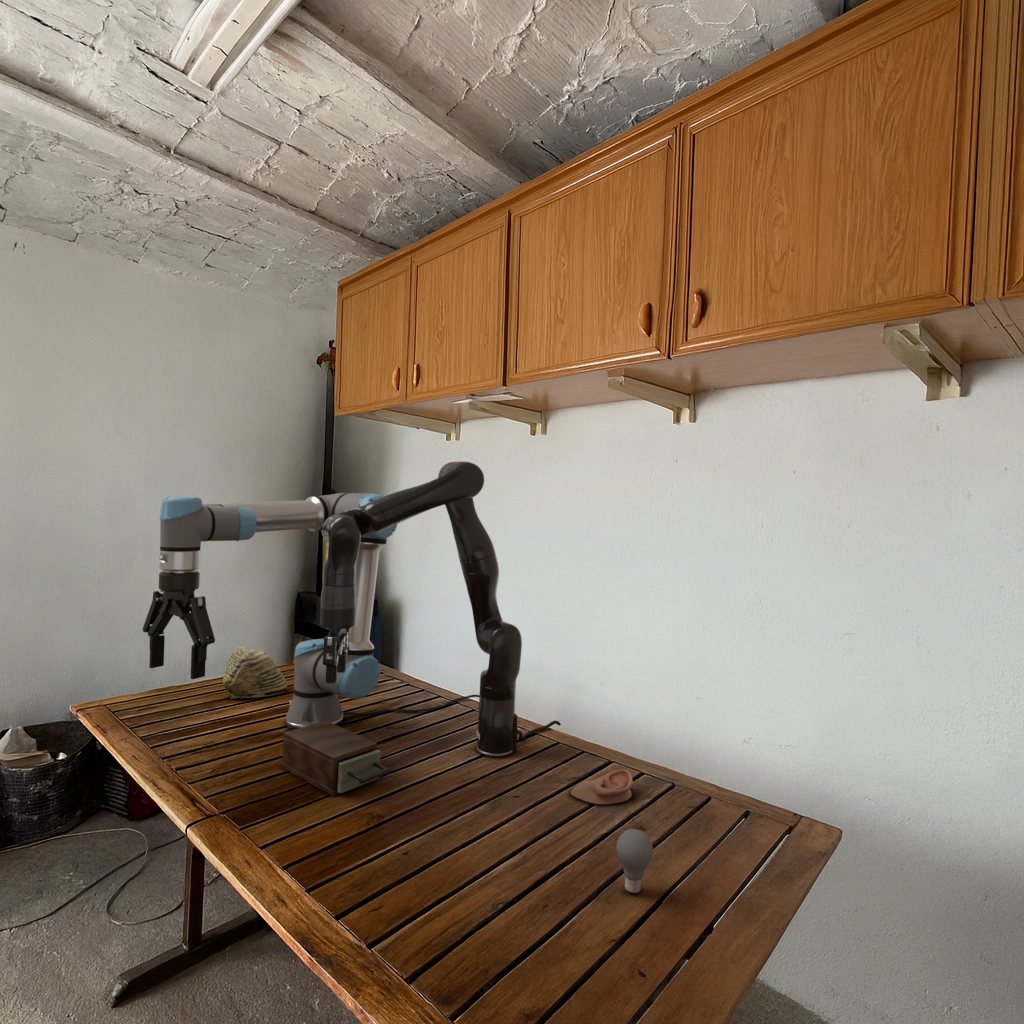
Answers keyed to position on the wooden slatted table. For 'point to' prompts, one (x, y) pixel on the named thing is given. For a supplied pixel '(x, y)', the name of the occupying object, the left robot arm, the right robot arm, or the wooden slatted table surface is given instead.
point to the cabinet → (321, 752)
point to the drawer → (359, 770)
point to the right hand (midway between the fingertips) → (335, 677)
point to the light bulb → (634, 857)
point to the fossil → (252, 674)
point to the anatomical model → (605, 788)
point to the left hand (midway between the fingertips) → (176, 672)
